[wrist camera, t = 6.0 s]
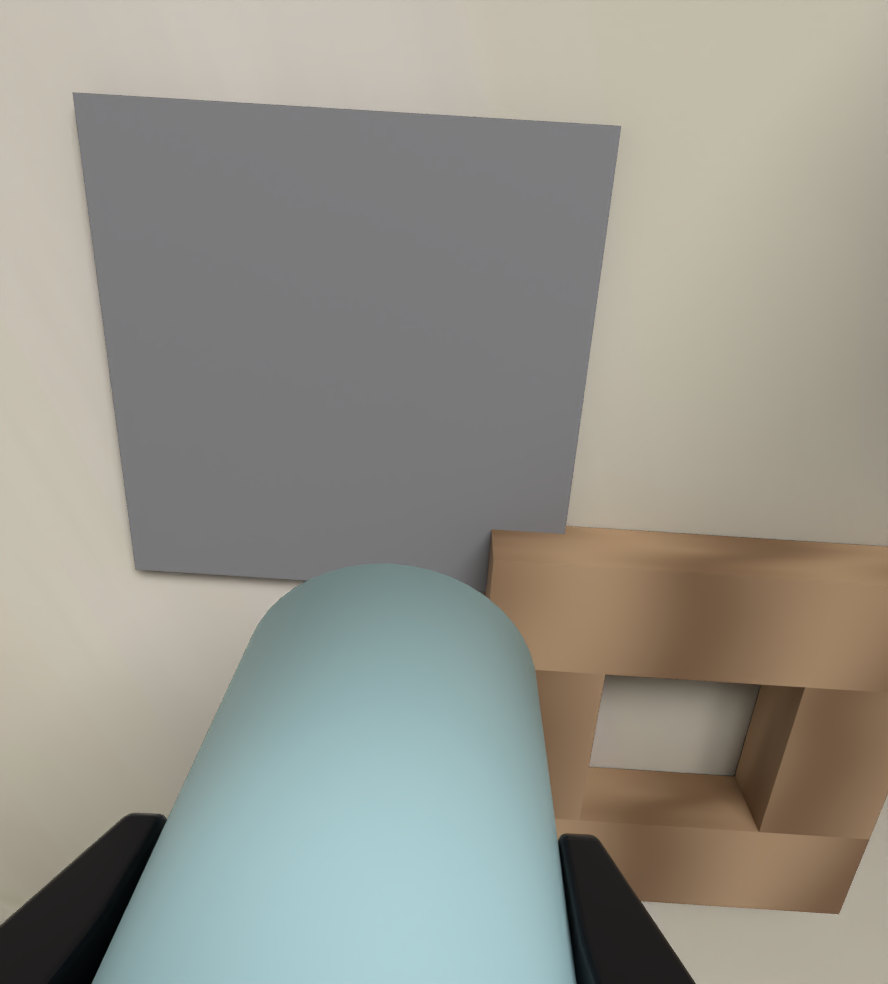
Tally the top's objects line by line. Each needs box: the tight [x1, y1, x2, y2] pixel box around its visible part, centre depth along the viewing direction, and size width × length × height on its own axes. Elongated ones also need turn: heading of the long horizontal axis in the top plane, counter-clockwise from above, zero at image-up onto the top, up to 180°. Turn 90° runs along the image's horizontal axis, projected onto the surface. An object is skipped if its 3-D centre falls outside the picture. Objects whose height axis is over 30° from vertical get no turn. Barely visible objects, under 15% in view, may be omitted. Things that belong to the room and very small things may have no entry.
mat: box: [73, 93, 621, 592], centre depth 19 cm, size 12×12×1 cm
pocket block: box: [484, 526, 888, 914], centre depth 22 cm, size 12×12×2 cm
